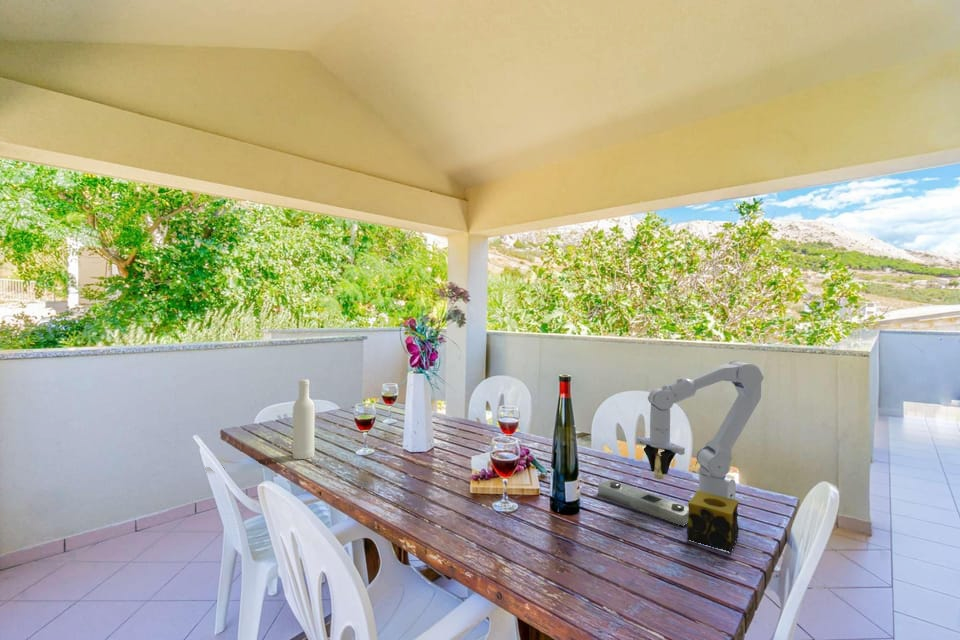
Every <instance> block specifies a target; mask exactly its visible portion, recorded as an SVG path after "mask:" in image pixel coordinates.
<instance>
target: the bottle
mask: <svg viewBox="0 0 960 640" xmlns="http://www.w3.org/2000/svg"><path fill="white" fill-rule="evenodd" d="M298 381H299V382H298V399H296V401H295V402H294V404H293V406H292V458H293V459H294V460H297V459H304V460H308V459H307V458H309V459H312V458H313V457H314V456H315V449H316V447H315V422H316V421H315V417H316V416H315V413H316V411H315V410H316V409H315V407H316V406H315V403H314V401H313V400H312V399H311V397H310V380H309V379H300V380H298ZM311 457H312V458H311Z"/></svg>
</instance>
